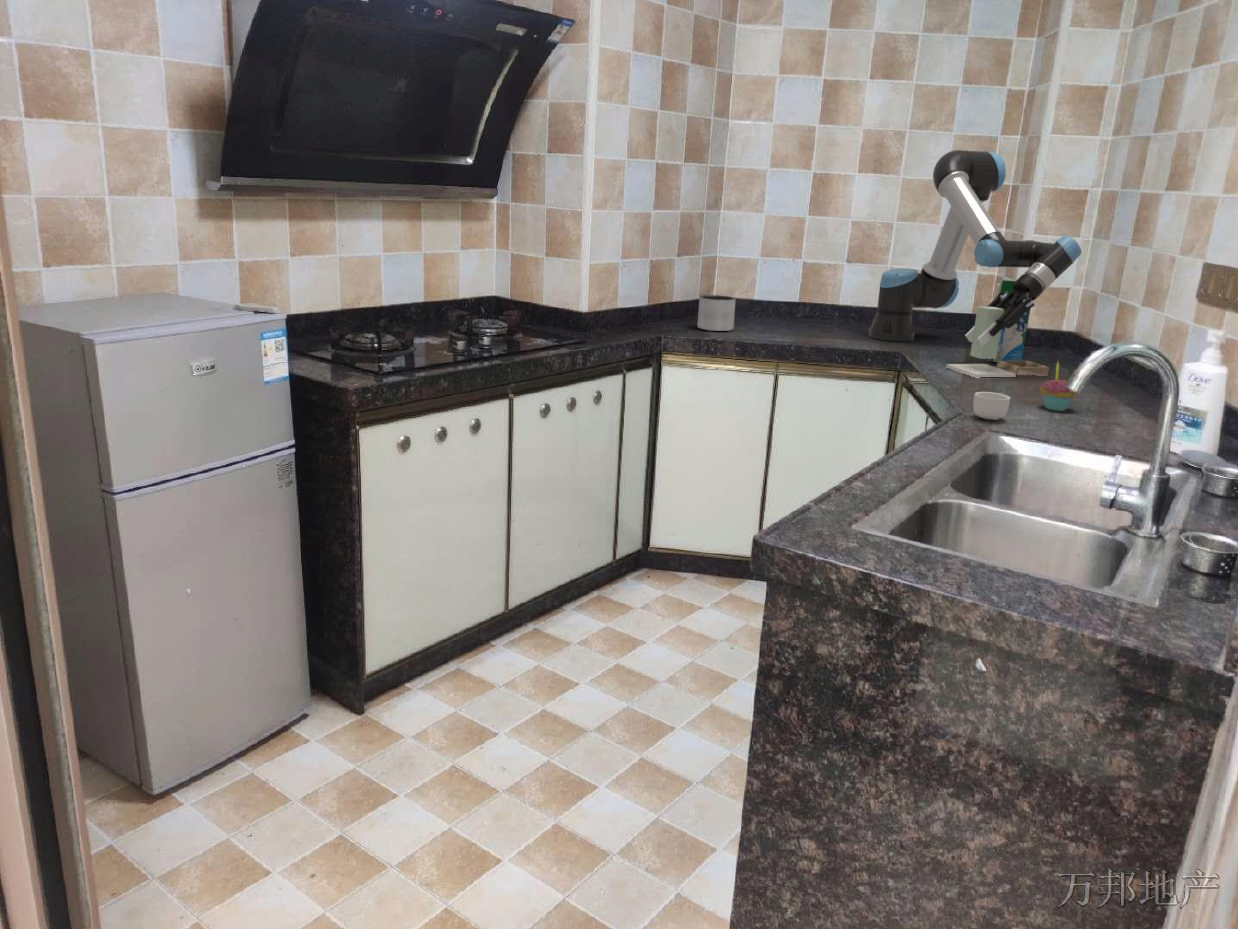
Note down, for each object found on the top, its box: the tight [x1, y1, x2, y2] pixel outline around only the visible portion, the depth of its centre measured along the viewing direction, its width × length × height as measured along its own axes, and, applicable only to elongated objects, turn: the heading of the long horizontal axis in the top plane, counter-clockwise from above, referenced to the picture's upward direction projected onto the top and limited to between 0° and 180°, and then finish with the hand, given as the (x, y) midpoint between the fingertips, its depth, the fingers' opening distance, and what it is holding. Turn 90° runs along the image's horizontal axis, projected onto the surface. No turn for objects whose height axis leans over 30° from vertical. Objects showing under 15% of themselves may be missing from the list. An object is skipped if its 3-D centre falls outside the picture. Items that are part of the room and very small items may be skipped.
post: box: [969, 306, 1004, 360], centre depth 263 cm, size 5×5×14 cm
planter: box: [696, 294, 736, 332], centre depth 320 cm, size 13×12×11 cm
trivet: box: [946, 363, 1017, 379], centre depth 267 cm, size 14×13×1 cm
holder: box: [995, 359, 1050, 377], centre depth 270 cm, size 10×10×2 cm
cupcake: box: [1039, 360, 1078, 412], centre depth 226 cm, size 9×8×12 cm
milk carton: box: [988, 279, 1032, 363], centre depth 283 cm, size 9×9×25 cm
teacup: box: [972, 391, 1011, 419], centre depth 215 cm, size 10×8×5 cm
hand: (974, 340), depth 263 cm, fingers closed on post, 5 cm apart
